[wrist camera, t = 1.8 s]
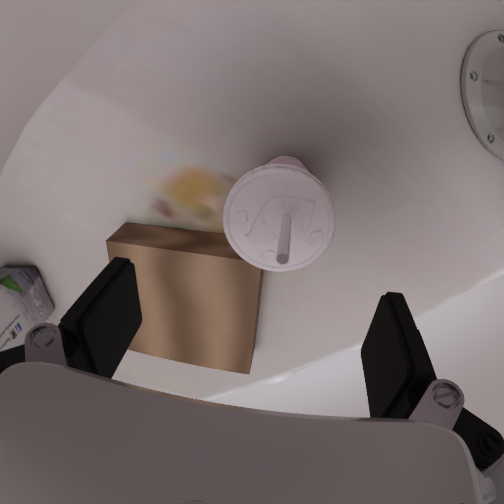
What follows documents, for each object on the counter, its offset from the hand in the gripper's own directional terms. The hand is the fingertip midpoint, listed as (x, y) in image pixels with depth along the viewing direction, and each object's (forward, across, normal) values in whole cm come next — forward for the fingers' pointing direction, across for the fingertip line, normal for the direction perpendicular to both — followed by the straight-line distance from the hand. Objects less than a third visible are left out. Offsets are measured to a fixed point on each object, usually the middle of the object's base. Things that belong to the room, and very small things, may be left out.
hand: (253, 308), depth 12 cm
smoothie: (+17, -1, 0) cm, 17 cm away
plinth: (+17, +7, +13) cm, 22 cm away
